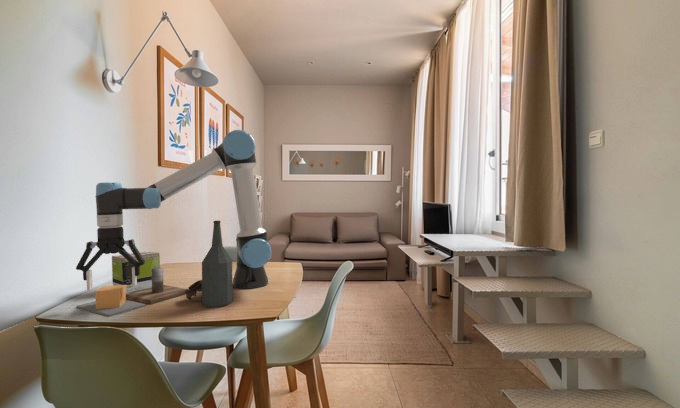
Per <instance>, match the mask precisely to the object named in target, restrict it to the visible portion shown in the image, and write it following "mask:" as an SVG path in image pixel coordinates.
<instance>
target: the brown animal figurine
mask: <svg viewBox="0 0 680 408" xmlns="http://www.w3.org/2000/svg"><path fill="white" fill-rule="evenodd" d="M185 289H186V291H185V293H186V294H185V296H186V297H185V298H186V299H188V300H191V298H192V297H197V292H198V293H199V292H201V293H202V279H200V280H197V281H195V282H194V283H192V284H191V285H189V286H188V287H187V288H185ZM188 289H189V291H188Z"/></svg>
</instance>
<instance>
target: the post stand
mask: <svg viewBox="0 0 680 408" xmlns="http://www.w3.org/2000/svg"><path fill="white" fill-rule="evenodd" d="M186 289H188V288H183V287H179V286H174V285H173V286H171V285H166V284H164V268H163V267H160V268H154V269H152V288H147V289H143V290H138V291H134V292H129V293H126V300H129V301H133V302H138V301H139V302H138V303H142V304H146V305H147V304H148V305H154V304H157V303H161V302H164V301H168V300H171V299H174V298H179V297H181V296H184V295H185V296H186V295H187V294H186V293H185V291H186ZM188 291H189V289H188Z"/></svg>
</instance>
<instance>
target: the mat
mask: <svg viewBox="0 0 680 408" xmlns="http://www.w3.org/2000/svg"><path fill="white" fill-rule="evenodd" d="M146 305H147V303H143V302H138V301H134V300H129V299H126V301H125V302H124V303H123V304H122V305H121V306H120V307H115V308H103V309H96V300H95V301H90V302H86V303H82V304H77V305H76V306H75V307H76V308H77V309H81V310H84V311H88V312H92V313H95V314H99V315H103V316H106V317H113V316H117V315H120V314H124V313H127V312H131V311H134V310H137V309H141V308H143V307H144V308H145V307H146Z"/></svg>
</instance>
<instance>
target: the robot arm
mask: <svg viewBox="0 0 680 408" xmlns="http://www.w3.org/2000/svg"><path fill="white" fill-rule="evenodd" d="M255 151H256V141H255V139H254V137H253V136H252V135H251V134H250V133H249V132H248V131H246V130H243V129H234V130H232V131H229V132H228V133H226V135H225V136H224V138H223V141H222V142H221V143H220V144H219V145H218V146H216V147H214V148H212V150H211V153H209V154H207V155H206V156H203V157H201V158H199V159H197V160H196V161H194V162H192V163H190V164H189V165H186V166H185V167H183V168H181V169H179V170H177V171H175V172H173V173H172V174H170V175H168V176H165V177H164V178H162V179H160V180H159V181H157V182H154V183H153V184H151V185H149V186H147V187H134V188H133V187H132V188H131V187H130V188H126V187H123V186H122V183H121V182H98V183H97V184H96V186H95V188H96V189H95V203H96V204H95V206H96V226H97V227H98V228H97V229H96V231H97V241H91V240H90V241H88V242H86V246H85V249H84V252H83V254H82V255H81V257H80V260H79V262H78V263H77V265H76V267H75V270H77V271H82V278H83V281H86V291H90V290H93V289H94V288H93V287H94V285H93V269H91V268H92V266H93V265H95V263H96V262H97V261H98V260H99V259H100V258H101V256H102V255H103V254H105V255H109V254H115V255H116V254H117V253H118V255H122V256H123V257H124V258H126V259H127V260H128V261H129V262H130V263H131V264H132V265H133V266H134V267H133V268H132V285H133V286H136V285H137V276H139V274H140V266H141V265H143V264H145V260H144V259H143V257H142V256H141V254H140V252H141V251H139V249H138V247H137V246H136V243H135V240H134V239H133V238H131V239H128V240H125V238H124V227H123V226H124V219H123V218H124V216H123V215H124V214H123V211H124V210H146V209H147V210H152V209H160V207H161V203H162V202H164V201H166V200H168V199H169V198H171V197H173V196H175V195H176V194H178V193H180V192H181V191H184V190H186V189H187V188H189V187H191V186H192V185H194V184H196V183H198V182H200V181H202V180H203V179H205V178H207V177H208V176H211V175H213V174H215V173H216V172H218V171H219V170H221V169H222V170H226V169H227V170H229V171H230V174H231V181H232V187H233V192H234V200H235V204H236V211H237V219H238V224H239V232H238V233H237V234H236V238H235V241H236V268H235V272H234V275H233V276H234V277H232V287H234V288H237V289H255V288H261V287H265V286H267V285H268V284H269V278H268V275H267V272H266V269H265V265H266V264H267V263H269V261H270V260H271V258H272V247H271V245H270V243H269V238H268V233H267V230H266V229H265V228H263V225H262V218H261V212H260V205H259V200H258V199H259V198H258V191H257V186H256V179H255V171H254V167H256V165H257V160H256V159H257V157H256V153H255ZM125 245H126V246H128V247H129V249H130V251H131V253H133V254H134V255H135V257H136V259H137V260H138V262H139V263H138V262H137V261H136V260H135V259H134V258H133V257H132V256H131V255H130V253H129V252H128V251H127V249H125V248H124V246H125ZM95 247H97V249H98V251H97V252H95V255H93V256H92V258H91V259H90V260H89V261H88V262H87V260H88V259H89V257H90V254H91V253H92V251H93V249H94V248H95ZM86 262H87V264H86Z"/></svg>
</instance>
